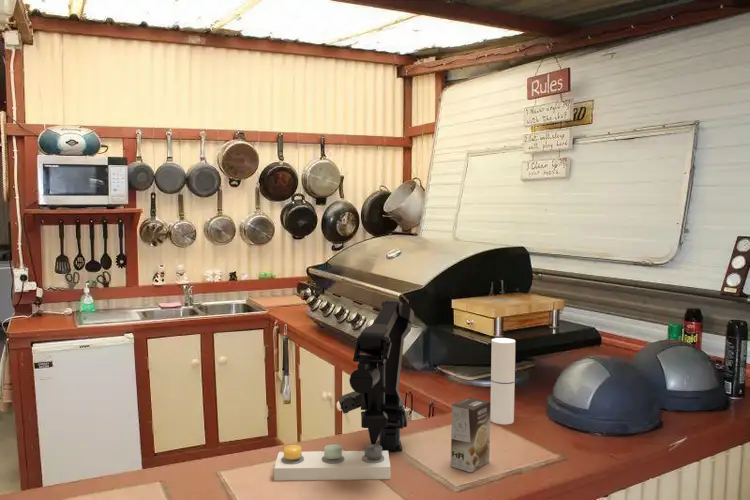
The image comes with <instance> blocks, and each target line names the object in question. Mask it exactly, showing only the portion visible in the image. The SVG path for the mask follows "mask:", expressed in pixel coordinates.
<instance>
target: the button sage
mask: <svg viewBox="0 0 750 500" xmlns="http://www.w3.org/2000/svg"><path fill="white" fill-rule="evenodd" d="M323 451H324V457H325V458H327V459H338V458H340V457H341V456H342V451H343V447H342V446H341V445H339V444H335V443H334V444H333V443H331V444H327V445H325V446H324V449H323Z"/></svg>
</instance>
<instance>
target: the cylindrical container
mask: <svg viewBox="0 0 750 500" xmlns="http://www.w3.org/2000/svg"><path fill="white" fill-rule="evenodd" d="M490 350H491V358H490V359H491V360H490V361H491V363H490V364H491V365H490V402H491V412H490V422H492V423H494V424H497V425H511V424H513V423H514V422H515V387H516V386H515V383H516V382H515V381H516V380H515V378H516V374H515V373H516V340H515V339H513V338H508V337H507V338H506V337H495V338H492V339H491V349H490Z"/></svg>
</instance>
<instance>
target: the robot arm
mask: <svg viewBox="0 0 750 500" xmlns="http://www.w3.org/2000/svg"><path fill="white" fill-rule="evenodd" d="M414 320H415V312H414V310H413V309H412V307H410V306H408V305H406V304H403V303H402V301H400V300H385V301H384V300H383V301H382V303H381V308H380V310H379V312H378V313H377V315H376V318H375V320H374V321H373V323H372V324H371V325H368V326H367V327H365V328H363V330H362V331H361V332H360V334H359V335H357V339H356V343H355V349H354V355H353V358H352V362H355V363H357V362H358V364H357V368H356V369H355V370H354V371H353V372H352V373H350V377H349V380H348V381H349V385H350V387H351V389H352V392H348V393H345V394H343V395H341V396H339V397H338V403H339V406H340V410H341V411H342V414H348V413H349V412H351V411H353V410H356V409H359V408H360V417H361V418H360V421H361V422H360V424H361V427H360V428H363V429H367V430H368V435H369V439H370V444H378V445H381V446H382V451H388V452H393V451H394V452H395V451H397V452H398V451H400V452H401V451H403V446H402V442H401V429H402V430H403V428H408V415H407V412H406V410H405V407H404V400H403V398H402V396H401V393H400V391H399V390H400V389H399V388H400V380H401V370H402V364H403V363H402V361H403V352H404V343H405V339H406V338H407V336H408V335H409V333H411V329H412V325H413V324H414V322H415V321H414Z"/></svg>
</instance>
